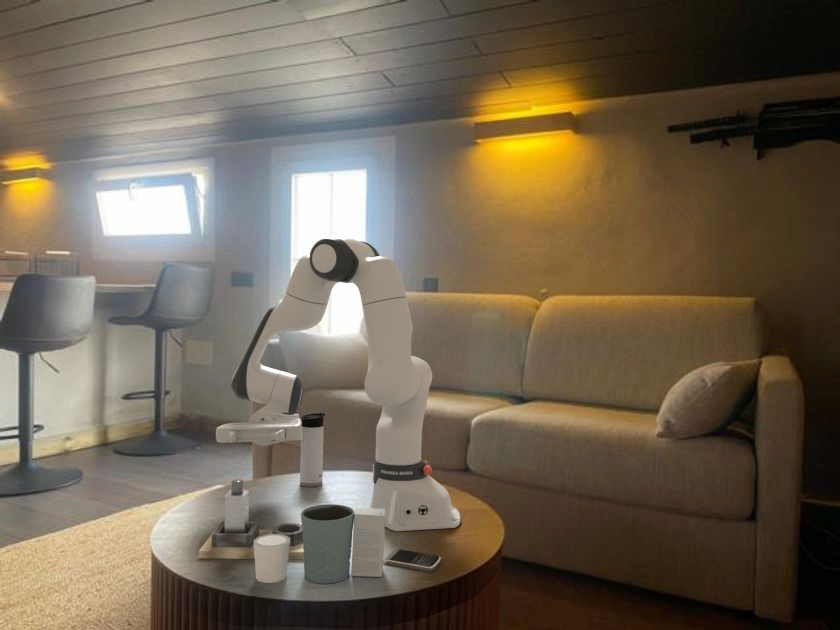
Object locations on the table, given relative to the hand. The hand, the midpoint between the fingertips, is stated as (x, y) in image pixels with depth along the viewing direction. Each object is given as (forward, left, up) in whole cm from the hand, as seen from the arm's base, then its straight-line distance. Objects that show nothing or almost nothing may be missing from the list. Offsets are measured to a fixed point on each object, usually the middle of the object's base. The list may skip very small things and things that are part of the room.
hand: (253, 438), depth 148 cm
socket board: (-4, +13, -20) cm, 24 cm away
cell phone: (-36, +20, -21) cm, 46 cm away
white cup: (-9, +27, -20) cm, 35 cm away
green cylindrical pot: (-20, +26, -20) cm, 38 cm away
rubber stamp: (0, +13, -19) cm, 23 cm away
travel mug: (-9, -33, -20) cm, 40 cm away
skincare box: (-28, +25, -20) cm, 43 cm away
